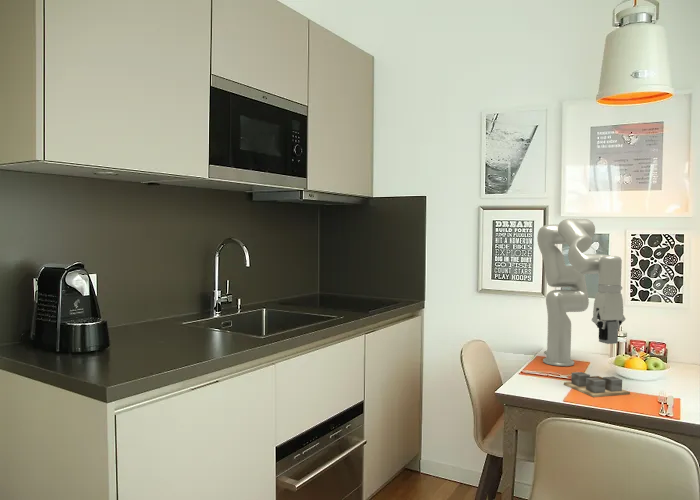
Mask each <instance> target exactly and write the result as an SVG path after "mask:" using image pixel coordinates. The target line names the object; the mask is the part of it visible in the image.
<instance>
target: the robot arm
mask: <svg viewBox="0 0 700 500" xmlns="http://www.w3.org/2000/svg"><path fill="white" fill-rule="evenodd" d="M595 233H596V227H595V224H594V222H593V221H592V220H589V219H588V218H565V219H562V220H561V221H560V222H559V224H545V225H542V227H540V228H539V229H538V232H537V236H536V237H537V245H538V249H539V251H540V254H541V256H542V259H543V260H542V261H543V267H544V268H543V269H544V273H545V279H546V283H547V285H548V286H549V287H551V288H570V289H553V290H550V291H549V292H548V293H547V294H546V296H545V304H546V310H547V311H546V312H547V339H546V341H547V343H546V345H547V346H546V350H545V351H543V354H544V355H545V357H544V358H543V359H542V362H543V363H544V364H546V365H550V366H557V367H569V366H570V367H571V366H574V365H575V361H574V360H573V359H572V358H571V354H572V353H571V352H572V351H571V349H572V348H571V347H572V321H571V318H569V316H568V314H567V313H580V312H581V313H582V312H585V311H586V310H587V309H588V308H589V303H590V302H589V293H588V287H587V282H586V276H585V275H598V285H597V287H598V289H597V290H598V292H596V293H595V297H594V302H593V307H592V308H593V311H592V318H591V322H593V323H594V324H595V325H596V327H597V328H598V340H599V339H601V340H606V329H605V327H606V322H607V321H618V330H619V329H620V327H621V325H622V324H623V322H625V321H626V317H625V315H624V299H623V294H622V293H621V292H622V290H623V287H622V267H623V266H622V264H623V263H622V261H623V260H622V258H621V257H620V256H617V255H609V254H602V253H601V254H600V253H599V254H598V253H594V254H592V253H590V254H589V253H588V254H587V253H585V252H587V251H589V249H590V248H591V246H592V244H593V240H592V238H593V237H594V236H595ZM556 245H567V246H569V248H568V251H567V256H568V257H567V258H568V260H569V263H570V265H567V264H566V262H565V258H564V255H563V252H562V251H561V250H560V249H559V247H557V246H556ZM602 322H603V323H602Z"/></svg>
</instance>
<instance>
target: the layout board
mask: <svg viewBox="0 0 700 500" xmlns="http://www.w3.org/2000/svg"><path fill="white" fill-rule="evenodd" d="M570 376H571V379H570V380H571V381H569V382H567V381H566V382H565V381H564V382H563V385H564V386H566V387H568V388H571V389H573V390H576V391H578V392H580V393H583V394H585V395H588V396H590V397H592V398H598V397H601V398H602V397H613V396H625V395H631V392H630V390H629V391H628V390H626V389H624V388H623V379H622V378H619V377H616V376H600V375H593V376H592V375H591V374H588V373H585V372H583V371H579V372H576V371H575V372H571V374H570Z"/></svg>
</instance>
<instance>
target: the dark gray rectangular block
mask: <svg viewBox="0 0 700 500" xmlns="http://www.w3.org/2000/svg"><path fill="white" fill-rule="evenodd" d="M602 323H603V322H602ZM605 329H606V340H601V339H599V338H598V342H599V343H601V344H602V343H603V344H607V345H615V344H618V340H619V339H618V337H619V329H618V321H607V322H606V327H605Z"/></svg>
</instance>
